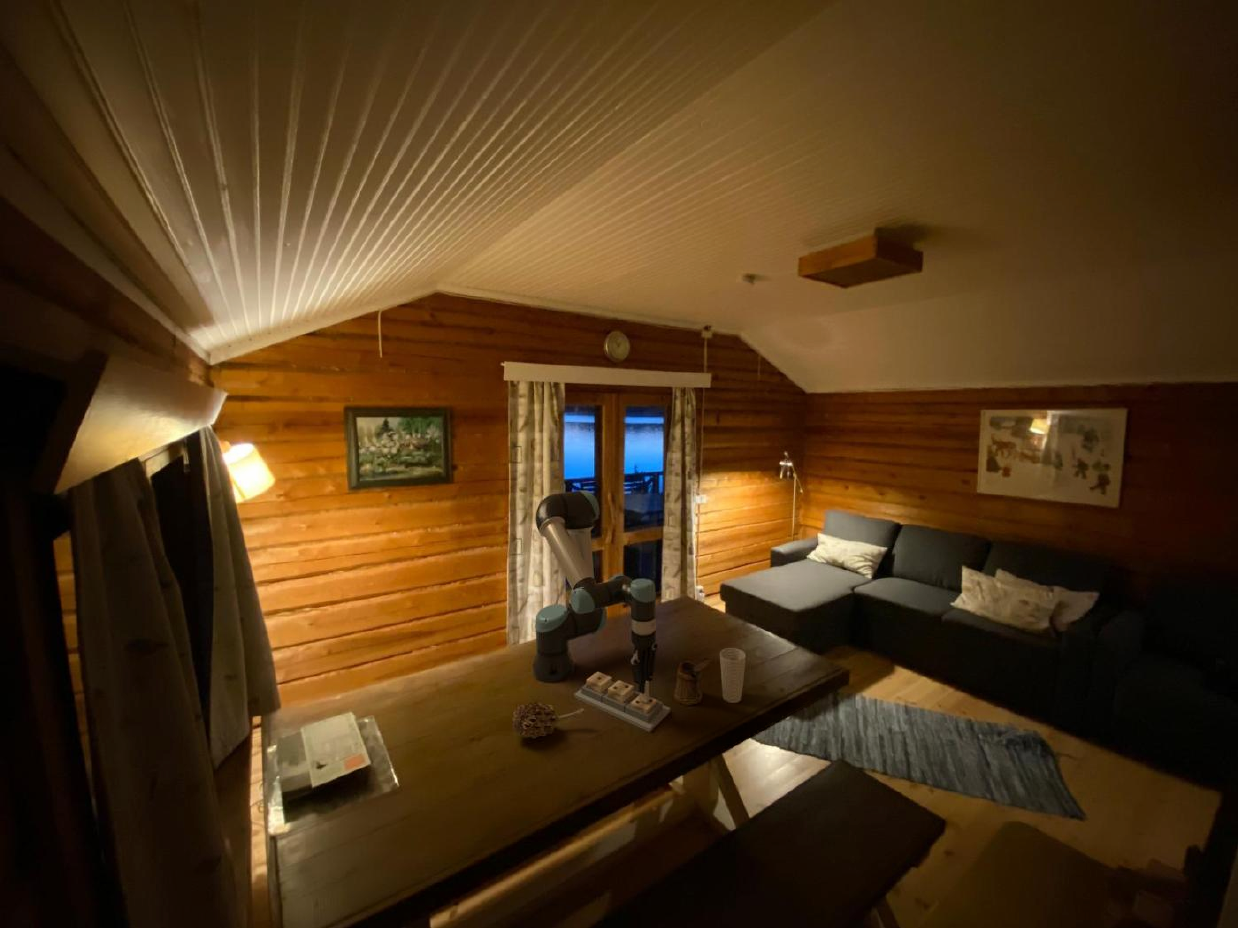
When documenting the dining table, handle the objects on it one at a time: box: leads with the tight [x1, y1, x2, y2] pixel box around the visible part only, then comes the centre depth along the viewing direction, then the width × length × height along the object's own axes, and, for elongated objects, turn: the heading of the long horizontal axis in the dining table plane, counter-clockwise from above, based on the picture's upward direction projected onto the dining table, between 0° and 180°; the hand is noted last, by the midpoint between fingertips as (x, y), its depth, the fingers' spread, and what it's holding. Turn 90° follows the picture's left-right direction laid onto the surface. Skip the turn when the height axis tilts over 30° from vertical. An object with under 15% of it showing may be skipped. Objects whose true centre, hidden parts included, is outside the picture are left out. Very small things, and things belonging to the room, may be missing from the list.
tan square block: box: [585, 671, 613, 694], centre depth 171 cm, size 6×6×3 cm
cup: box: [719, 647, 747, 704], centre depth 168 cm, size 8×8×16 cm
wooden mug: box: [673, 658, 711, 706], centre depth 167 cm, size 9×14×18 cm, turn 30°
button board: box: [573, 681, 671, 733], centre depth 166 cm, size 30×12×3 cm, turn 54°
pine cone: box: [512, 701, 585, 739], centre depth 153 cm, size 22×10×10 cm, turn 109°
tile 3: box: [631, 696, 658, 714], centre depth 161 cm, size 6×6×3 cm
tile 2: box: [608, 680, 635, 703], centre depth 166 cm, size 6×6×3 cm
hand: (644, 700), depth 160 cm, fingers closed
